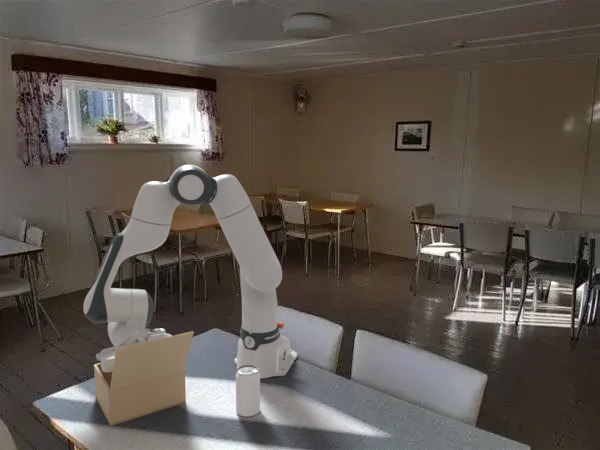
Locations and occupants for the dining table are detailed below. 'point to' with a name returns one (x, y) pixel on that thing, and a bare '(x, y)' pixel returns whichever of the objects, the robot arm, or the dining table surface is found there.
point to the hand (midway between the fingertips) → (149, 365)
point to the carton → (138, 396)
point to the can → (248, 391)
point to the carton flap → (150, 360)
